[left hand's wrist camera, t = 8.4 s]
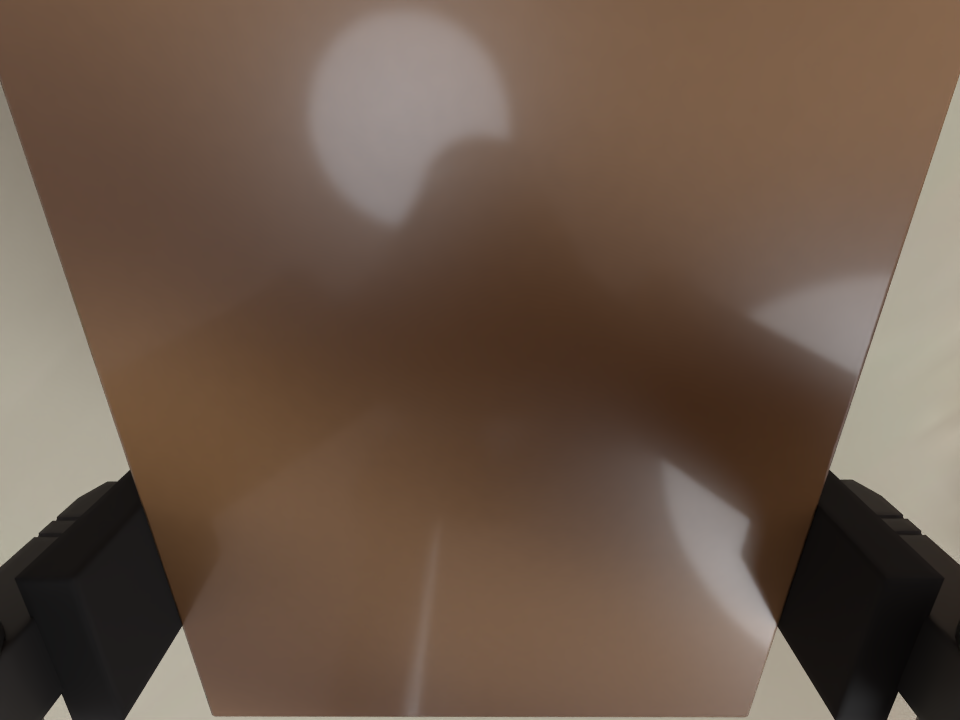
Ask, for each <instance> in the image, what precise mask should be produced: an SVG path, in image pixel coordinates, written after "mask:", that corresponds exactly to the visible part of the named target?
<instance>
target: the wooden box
mask: <svg viewBox="0 0 960 720" xmlns="http://www.w3.org/2000/svg"><path fill="white" fill-rule="evenodd" d="M959 75H960V0H0V82H1V84H2V87H3V90H4V93H5V96H6V99H7V102H8V105H9V108H10V111H11V114H12V117H13V120H14V123H15V126H16V129H17V132H18V135H19V138H20V141H21V144H22V147H23V150H24V153H25V156H26V159H27V162H28V165H29V168H30V171H31V174H32V177H33V180H34V183H35V186H36V189H37V192H38V195H39V198H40V201H41V204H42V207H43V210H44V213H45V216H46V219H47V222H48V225H49V228H50V231H51V234H52V237H53V240H54V243H55V246H56V249H57V252H58V255H59V258H60V261H61V264H62V267H63V270H64V273H65V276H66V279H67V282H68V285H69V288H70V291H71V294H72V297H73V300H74V303H75V306H76V309H77V312H78V315H79V318H80V321H81V324H82V327H83V330H84V333H85V336H86V339H87V342H88V345H89V348H90V351H91V354H92V357H93V360H94V363H95V366H96V369H97V372H98V375H99V378H100V381H101V384H102V387H103V390H104V393H105V396H106V399H107V402H108V405H109V408H110V411H111V414H112V417H113V420H114V423H115V426H116V429H117V432H118V435H119V438H120V441H121V444H122V447H123V450H124V453H125V456H126V459H127V462H128V465H129V468H130V470H131V473H132V476H133V479H134V482H135V485H136V488H137V491H138V494H139V497H140V500H141V503H142V506H143V509H144V512H145V515H146V518H147V521H148V524H149V527H150V530H151V533H152V536H153V539H154V542H155V545H156V548H157V551H158V554H159V557H160V560H161V563H162V566H163V569H164V572H165V575H166V578H167V581H168V584H169V587H170V590H171V593H172V596H173V599H174V602H175V605H176V608H177V611H178V614H179V617H180V620H181V623H182V626H183V629H184V632H185V635H186V638H187V641H188V644H189V647H190V650H191V653H192V656H193V659H194V662H195V665H196V668H197V671H198V674H199V677H200V680H201V683H202V686H203V689H204V692H205V695H206V698H207V701H208V704H209V707H210V710H211V713H212V715H213V716H263V717H746V716H748V714H749V711H750V708H751V705H752V702H753V699H754V696H755V693H756V690H757V687H758V684H759V681H760V678H761V675H762V672H763V669H764V666H765V663H766V660H767V657H768V654H769V651H770V648H771V645H772V642H773V638H774V635H775V632H776V629H777V626H778V623H779V620H780V617H781V614H782V611H783V608H784V605H785V602H786V599H787V596H788V593H789V590H790V587H791V584H792V581H793V578H794V575H795V572H796V569H797V566H798V563H799V560H800V557H801V554H802V551H803V548H804V545H805V541H806V538H807V535H808V532H809V529H810V526H811V523H812V520H813V517H814V514H815V511H816V508H817V505H818V502H819V499H820V496H821V493H822V490H823V487H824V484H825V481H826V478H827V475H828V472H829V469H830V466H831V463H832V460H833V457H834V454H835V451H836V447H837V444H838V441H839V438H840V435H841V432H842V429H843V426H844V423H845V420H846V417H847V414H848V411H849V408H850V405H851V402H852V399H853V396H854V393H855V390H856V387H857V384H858V381H859V378H860V375H861V372H862V369H863V366H864V363H865V360H866V357H867V354H868V350H869V347H870V344H871V341H872V338H873V335H874V332H875V329H876V326H877V323H878V320H879V317H880V314H881V311H882V308H883V305H884V302H885V299H886V296H887V293H888V290H889V287H890V284H891V281H892V278H893V275H894V272H895V269H896V266H897V263H898V260H899V257H900V253H901V250H902V247H903V244H904V241H905V238H906V235H907V232H908V229H909V226H910V223H911V220H912V217H913V214H914V211H915V208H916V205H917V202H918V199H919V196H920V193H921V190H922V187H923V184H924V181H925V178H926V175H927V172H928V169H929V166H930V163H931V159H932V156H933V153H934V150H935V147H936V144H937V141H938V138H939V135H940V132H941V129H942V126H943V123H944V120H945V117H946V114H947V111H948V108H949V105H950V102H951V99H952V96H953V93H954V90H955V87H956V84H957V81H958V78H959Z"/></svg>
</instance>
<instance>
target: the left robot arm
mask: <svg viewBox="0 0 960 720" xmlns="http://www.w3.org/2000/svg"><path fill="white" fill-rule="evenodd" d="M181 627H182V623H181V620H180V617H179V614H178V611H177V608H176V605H175V602H174V599H173V596H172V593H171V590H170V587H169V584H168V581H167V578H166V575H165V572H164V569H163V566H162V563H161V560H160V557H159V554H158V551H157V548H156V545H155V542H154V539H153V536H152V533H151V530H150V527H149V524H148V521H147V518H146V515H145V512H144V509H143V506H142V503H141V500H140V497H139V494H138V491H137V488H136V485H135V482H134V479H133V476H132V473H131V470H129V471H128V472H127V473H126V474H125V475H124V476H123V477H122V478H121V479H120V480H119V481H118V482H106V483H104V484H102V485H101V486H99V487H97V488H95V489H93V490H92V491H90V492H88V493H86V494H85V495H83V496H81V497H79V498H78V499H77V500H76V501H74V502H73V503H72V504H71V505H70V506H69V507H68V508H67V509H65V510H64V511H63V512H62V513H61V514H60V515H59V516H58V517H57V520H56V521H52V522H51V523H50V524H49V525H47V526H46V527H45V528H44V529H43V530H42V531H41V532H40V533H39V536H38V537H34V538H33V539H32V540H30V541H29V542H28V543H27V544H26V545H25V546H24V547H23V548H21V549H20V550H19V551H18V552H17V553H16V554H15V555H14V556H12V557H11V558H10V559H9V560H8V561H7V562H6V563H5V564H3V565H2V566H1V567H0V720H44V716H45V715H46V714H47V712H48V711H49V710H50V708H51V707H52V706H53V704H54V703H55V702H56V700H57V699H58V698H59V696H60V695H61V694H62V696H63V698H64V700H65V703H66V705H67V708H68V710H69V713H70V715H71V718H72V720H125V718H126V717H127V715H128V713H129V712H130V710H131V708H132V707H133V705H134V703H135V702H136V700H137V699H138V697H139V695H140V694H141V692H142V690H143V689H144V687H145V686H146V684H147V682H148V681H149V679H150V677H151V676H152V674H153V673H154V671H155V669H156V668H157V666H158V664H159V663H160V661H161V660H162V658H163V656H164V655H165V653H166V651H167V650H168V648H169V647H170V645H171V643H172V642H173V640H174V638H175V637H176V635H177V633H178V632H179V630H180V629H181ZM778 628H779V629H780V631H781V633H782V634H783V636H784V638H785V639H786V641H787V643H788V644H789V646H790V647H791V649H792V651H793V652H794V654H795V656H796V657H797V659H798V660H799V662H800V664H801V665H802V667H803V669H804V670H805V672H806V673H807V675H808V677H809V678H810V680H811V682H812V683H813V685H814V687H815V688H816V690H817V691H818V693H819V695H820V696H821V698H822V700H823V701H824V703H825V704H826V706H827V708H828V709H829V711H830V713H831V714H832V716H833V717H834V719H835V720H887V718H888V716H889V713H890V711H891V708H892V706H893V703H894V701H895V698H896V696H897V694H898V692H899V693H900V694H901V696H902V697H903V698H904V699H905V701H906V702H907V703H908V705H909V706H910V707H911V709H912V710H913V711H914V713H915V714H916V715H917V718H916V720H960V565H959V564H958V563H957V562H956V561H955V560H954V559H952V558H951V557H950V556H949V555H948V554H947V553H946V552H944V551H943V550H942V549H941V548H940V547H939V546H938V545H937V544H935V543H934V542H933V541H932V540H931V539H930V538H929V537H927V536H926V535H922V534H921V530H920V529H918V528H917V527H916V526H915V525H914V524H913V523H912V522H910V521H909V520H908V519H904V518H903V515H902V514H901V513H900V512H899V511H898V510H897V509H896V508H895V507H893V506H892V505H891V504H890V503H889V502H888V501H887V500H885V499H884V498H883V497H882V496H881V495H879V494H877V493H875V492H874V491H872V490H870V489H868V488H866V487H865V486H863V485H861V484H859V483H857V482H856V481H854V480H840V479H839V478H837V477H836V476H835V475H834V474H833V473H832V472H831V471H830V470H829V472H828V475H827V478H826V481H825V484H824V487H823V490H822V493H821V496H820V499H819V502H818V505H817V508H816V511H815V514H814V517H813V520H812V523H811V526H810V529H809V532H808V535H807V538H806V541H805V545H804V548H803V551H802V554H801V557H800V560H799V563H798V566H797V569H796V572H795V575H794V578H793V581H792V584H791V587H790V590H789V593H788V596H787V599H786V602H785V605H784V608H783V611H782V614H781V617H780V620H779V623H778Z"/></svg>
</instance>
